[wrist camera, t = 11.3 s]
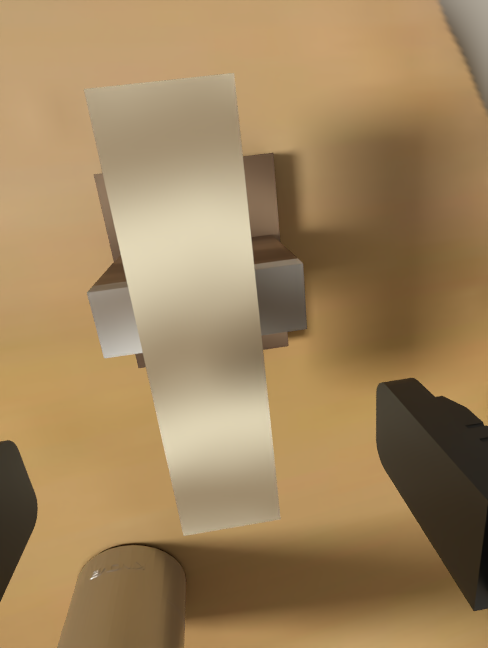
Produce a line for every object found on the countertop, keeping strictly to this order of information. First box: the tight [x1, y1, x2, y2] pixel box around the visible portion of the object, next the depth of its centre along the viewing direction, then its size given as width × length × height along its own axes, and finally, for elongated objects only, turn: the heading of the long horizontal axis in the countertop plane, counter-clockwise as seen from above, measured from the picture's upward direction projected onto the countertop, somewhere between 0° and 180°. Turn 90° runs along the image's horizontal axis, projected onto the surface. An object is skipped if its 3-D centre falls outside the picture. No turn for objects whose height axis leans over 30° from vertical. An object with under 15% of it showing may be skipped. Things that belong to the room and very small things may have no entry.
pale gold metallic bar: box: [84, 73, 281, 536], centre depth 16 cm, size 16×4×4 cm, turn 6°
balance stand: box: [87, 153, 307, 368], centre depth 22 cm, size 12×10×10 cm
